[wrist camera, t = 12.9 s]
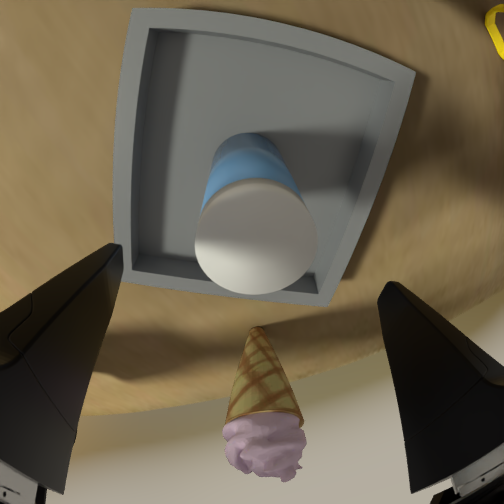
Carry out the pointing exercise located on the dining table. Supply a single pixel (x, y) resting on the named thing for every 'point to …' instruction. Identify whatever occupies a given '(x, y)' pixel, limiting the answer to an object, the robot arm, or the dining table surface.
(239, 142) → the cylinder
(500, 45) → the watch
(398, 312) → the robot arm
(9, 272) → the dining table surface
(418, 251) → the dining table surface
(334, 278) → the tray
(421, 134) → the dining table surface
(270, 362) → the ice cream cone
